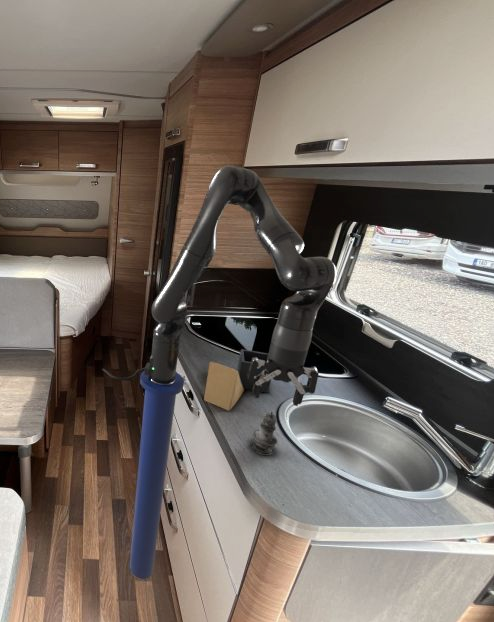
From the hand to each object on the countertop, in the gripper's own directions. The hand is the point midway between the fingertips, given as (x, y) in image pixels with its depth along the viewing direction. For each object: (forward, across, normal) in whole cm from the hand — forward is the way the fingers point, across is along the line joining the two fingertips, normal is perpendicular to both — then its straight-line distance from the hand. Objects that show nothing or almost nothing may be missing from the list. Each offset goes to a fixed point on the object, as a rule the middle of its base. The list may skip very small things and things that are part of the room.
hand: (275, 399), depth 84 cm
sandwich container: (+16, +10, -22) cm, 29 cm away
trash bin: (+15, +1, -33) cm, 36 cm away
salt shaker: (+16, 0, 0) cm, 16 cm away
